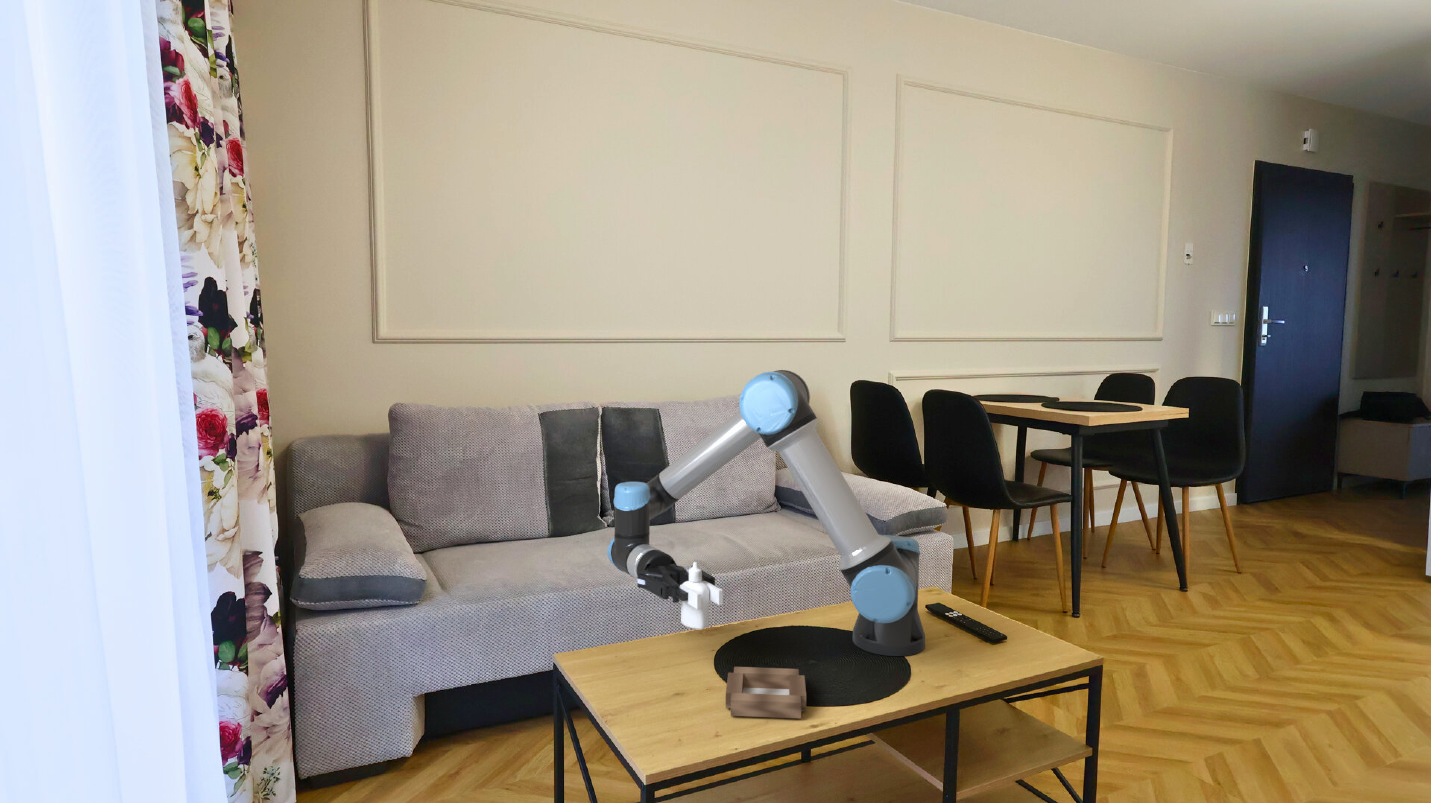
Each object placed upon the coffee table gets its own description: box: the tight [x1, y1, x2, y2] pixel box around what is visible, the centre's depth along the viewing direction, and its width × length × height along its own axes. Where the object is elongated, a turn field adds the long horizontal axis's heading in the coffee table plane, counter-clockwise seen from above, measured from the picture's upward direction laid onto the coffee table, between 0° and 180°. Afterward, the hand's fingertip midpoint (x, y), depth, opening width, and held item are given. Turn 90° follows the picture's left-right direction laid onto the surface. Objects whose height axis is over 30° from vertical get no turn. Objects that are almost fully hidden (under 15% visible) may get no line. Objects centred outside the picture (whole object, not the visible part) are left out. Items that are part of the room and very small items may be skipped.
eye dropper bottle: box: [680, 561, 710, 630], centre depth 153 cm, size 4×6×12 cm
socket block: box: [725, 666, 807, 719], centre depth 147 cm, size 14×14×3 cm
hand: (710, 599), depth 149 cm, fingers closed on eye dropper bottle, 4 cm apart
